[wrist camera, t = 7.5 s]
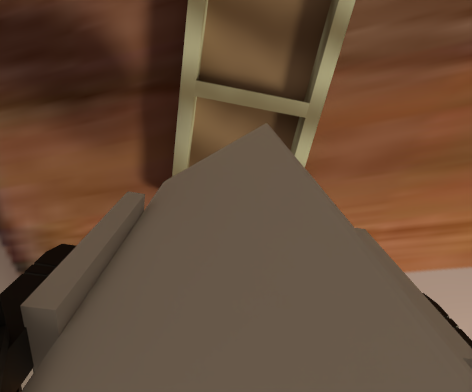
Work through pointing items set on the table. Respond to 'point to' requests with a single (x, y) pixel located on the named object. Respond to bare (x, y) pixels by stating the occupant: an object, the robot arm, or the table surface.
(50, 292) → the robot arm
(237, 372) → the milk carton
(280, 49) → the board
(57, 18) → the table surface
